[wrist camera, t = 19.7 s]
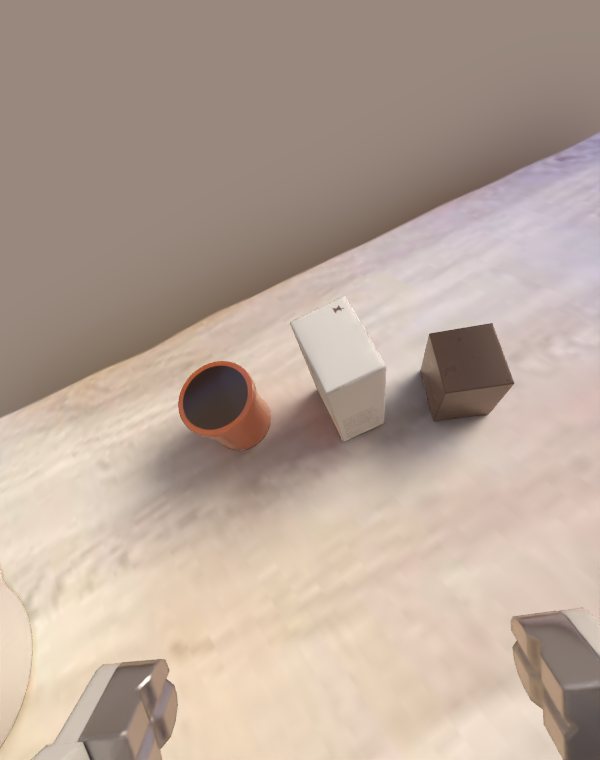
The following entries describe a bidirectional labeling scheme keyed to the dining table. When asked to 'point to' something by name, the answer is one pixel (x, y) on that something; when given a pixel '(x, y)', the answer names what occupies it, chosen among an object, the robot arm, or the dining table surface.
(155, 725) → the robot arm
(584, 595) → the dining table surface
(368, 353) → the cosmetic box
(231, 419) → the flower pot
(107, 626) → the dining table surface
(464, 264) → the dining table surface
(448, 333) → the walnut block
